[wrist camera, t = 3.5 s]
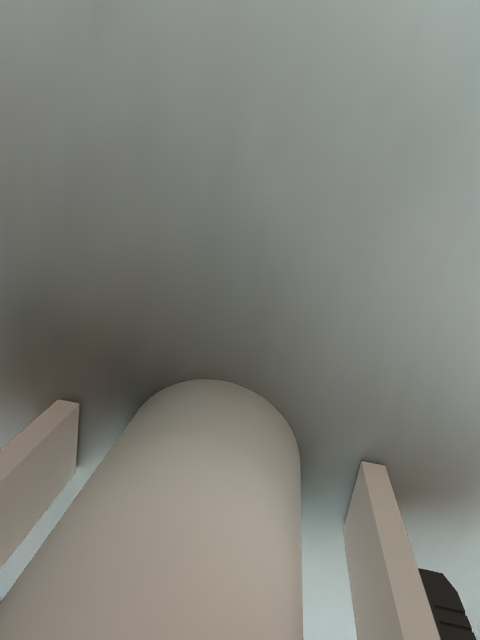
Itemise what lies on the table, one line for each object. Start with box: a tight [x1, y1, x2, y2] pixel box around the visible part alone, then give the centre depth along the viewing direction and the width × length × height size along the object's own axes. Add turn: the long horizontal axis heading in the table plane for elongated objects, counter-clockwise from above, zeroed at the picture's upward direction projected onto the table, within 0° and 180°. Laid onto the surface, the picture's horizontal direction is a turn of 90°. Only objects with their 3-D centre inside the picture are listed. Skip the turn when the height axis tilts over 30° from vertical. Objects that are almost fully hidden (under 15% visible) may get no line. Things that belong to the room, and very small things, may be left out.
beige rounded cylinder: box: [0, 379, 303, 640], centre depth 11 cm, size 6×6×9 cm
